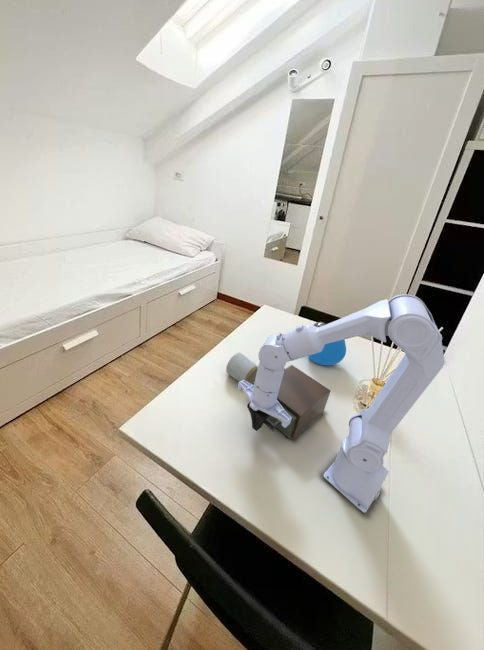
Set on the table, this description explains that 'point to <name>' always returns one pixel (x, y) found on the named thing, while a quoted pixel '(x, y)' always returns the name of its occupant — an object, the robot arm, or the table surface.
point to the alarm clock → (329, 351)
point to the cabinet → (302, 397)
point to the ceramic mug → (242, 368)
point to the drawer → (274, 422)
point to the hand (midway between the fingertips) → (256, 427)
